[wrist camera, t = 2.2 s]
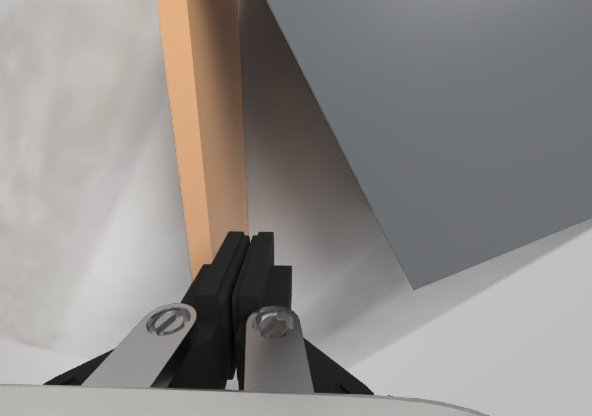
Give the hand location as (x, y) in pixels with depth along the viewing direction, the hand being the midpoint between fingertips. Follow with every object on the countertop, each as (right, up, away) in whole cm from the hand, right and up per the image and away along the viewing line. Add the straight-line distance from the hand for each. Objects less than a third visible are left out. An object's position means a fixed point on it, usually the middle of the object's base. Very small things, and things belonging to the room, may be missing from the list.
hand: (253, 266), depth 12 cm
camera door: (-3, +7, +7) cm, 11 cm away
